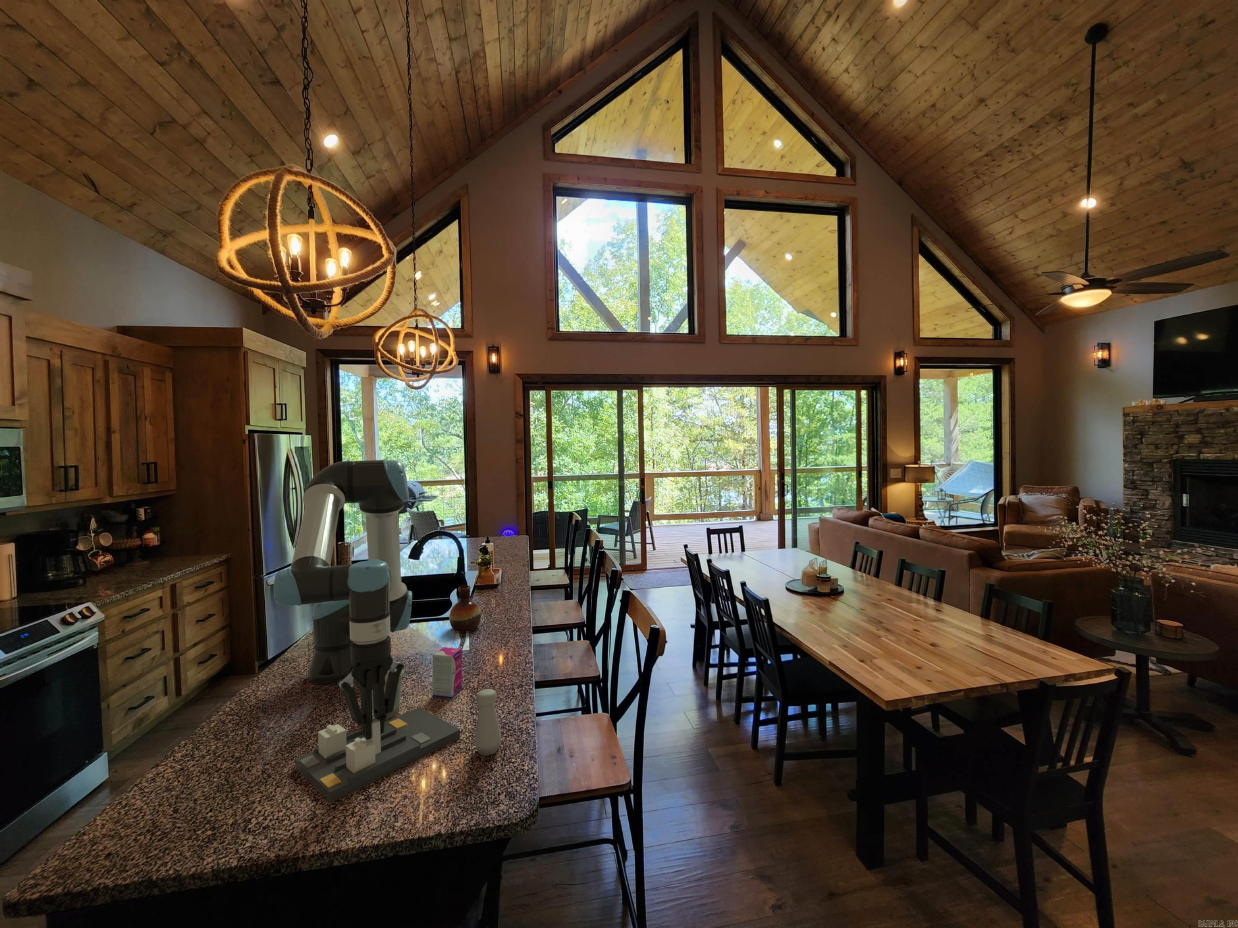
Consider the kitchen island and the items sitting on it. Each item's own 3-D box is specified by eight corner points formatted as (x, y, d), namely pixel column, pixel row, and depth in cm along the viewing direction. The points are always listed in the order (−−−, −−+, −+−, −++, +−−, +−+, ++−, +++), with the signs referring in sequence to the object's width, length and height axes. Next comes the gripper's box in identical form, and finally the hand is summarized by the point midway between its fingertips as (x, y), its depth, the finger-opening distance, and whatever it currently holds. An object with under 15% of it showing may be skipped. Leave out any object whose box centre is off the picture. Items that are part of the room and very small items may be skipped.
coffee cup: (368, 726, 127) (366, 676, 127) (366, 710, 135) (365, 664, 134) (406, 717, 131) (405, 669, 131) (403, 702, 139) (401, 657, 138)
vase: (476, 633, 189) (475, 590, 189) (445, 634, 189) (444, 591, 189) (484, 623, 200) (483, 582, 200) (455, 623, 201) (454, 583, 200)
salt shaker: (476, 743, 119) (475, 686, 119) (503, 741, 120) (501, 684, 119) (472, 758, 113) (470, 698, 113) (499, 756, 114) (498, 696, 114)
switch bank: (295, 768, 111) (295, 755, 111) (420, 714, 132) (419, 703, 132) (330, 802, 100) (330, 787, 100) (460, 738, 122) (459, 725, 121)
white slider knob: (318, 752, 113) (317, 728, 113) (338, 744, 116) (337, 720, 116) (326, 759, 110) (325, 734, 110) (346, 750, 113) (345, 726, 113)
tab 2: (346, 767, 108) (345, 741, 107) (366, 757, 111) (365, 733, 110) (355, 774, 105) (354, 748, 105) (375, 765, 108) (374, 739, 108)
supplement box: (452, 698, 141) (451, 656, 140) (432, 697, 142) (430, 654, 141) (463, 688, 146) (462, 647, 146) (443, 687, 147) (442, 646, 147)
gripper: (346, 652, 102) (350, 773, 102) (410, 632, 112) (413, 743, 112) (329, 643, 106) (333, 759, 107) (392, 625, 116) (395, 731, 117)
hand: (374, 751), depth 110 cm, fingers closed
